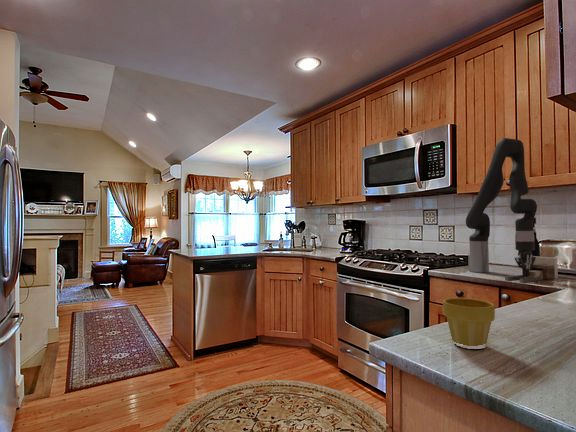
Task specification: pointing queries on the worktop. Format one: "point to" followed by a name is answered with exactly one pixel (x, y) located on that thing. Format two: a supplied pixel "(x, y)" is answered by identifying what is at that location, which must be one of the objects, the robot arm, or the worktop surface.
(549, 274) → the block
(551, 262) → the backstop board
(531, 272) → the peg
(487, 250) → the robot arm
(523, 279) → the guide rails
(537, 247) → the wine bottle
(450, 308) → the plant pot
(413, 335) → the worktop surface
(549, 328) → the worktop surface
